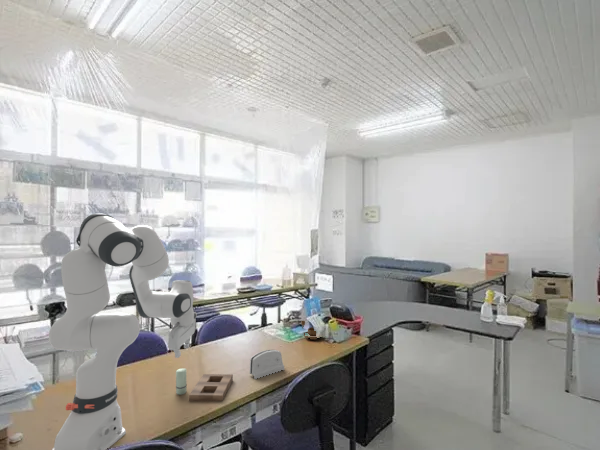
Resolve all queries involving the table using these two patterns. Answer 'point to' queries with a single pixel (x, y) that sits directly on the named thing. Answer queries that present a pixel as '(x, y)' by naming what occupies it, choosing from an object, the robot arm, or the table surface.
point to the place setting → (309, 331)
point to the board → (211, 387)
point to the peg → (181, 381)
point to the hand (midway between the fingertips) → (182, 352)
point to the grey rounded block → (266, 363)
